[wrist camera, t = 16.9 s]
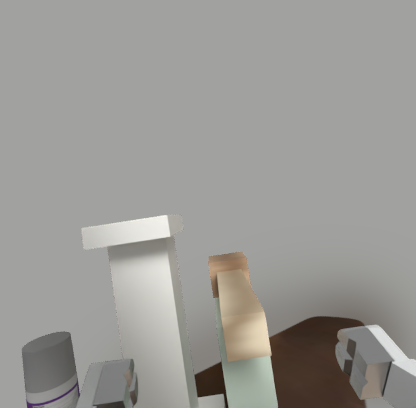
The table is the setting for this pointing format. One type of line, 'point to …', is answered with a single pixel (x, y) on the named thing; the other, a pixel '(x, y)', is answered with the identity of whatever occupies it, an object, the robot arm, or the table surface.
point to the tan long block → (238, 308)
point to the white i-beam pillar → (151, 309)
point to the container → (50, 372)
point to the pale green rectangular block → (246, 377)
